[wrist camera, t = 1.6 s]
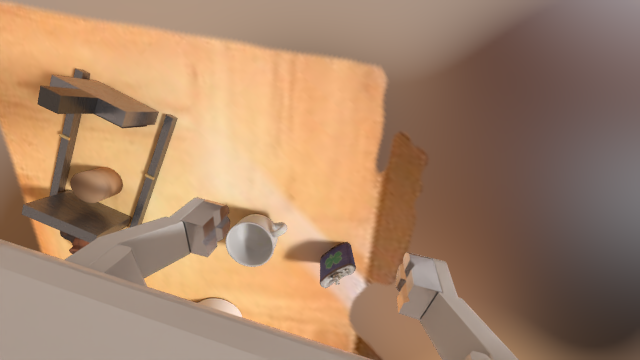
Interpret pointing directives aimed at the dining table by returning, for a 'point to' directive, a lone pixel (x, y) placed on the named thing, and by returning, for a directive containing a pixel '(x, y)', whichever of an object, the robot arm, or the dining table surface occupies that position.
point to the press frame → (81, 215)
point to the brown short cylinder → (96, 184)
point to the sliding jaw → (94, 102)
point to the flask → (336, 264)
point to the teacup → (253, 239)
